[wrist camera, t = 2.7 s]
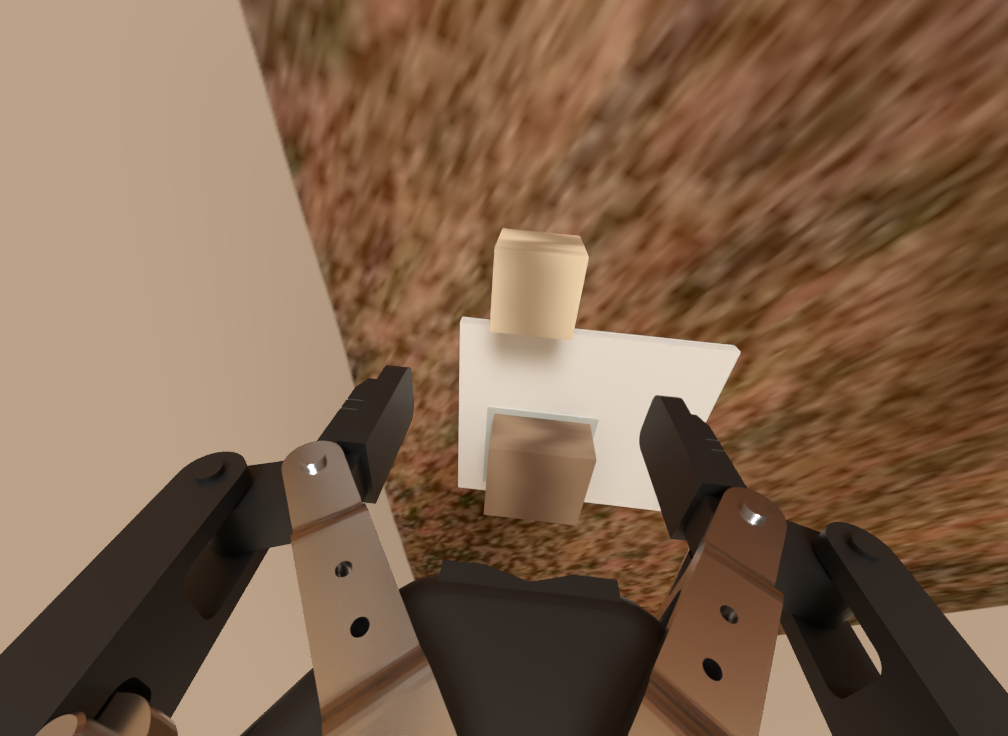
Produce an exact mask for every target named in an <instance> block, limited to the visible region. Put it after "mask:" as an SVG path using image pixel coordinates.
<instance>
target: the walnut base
mask: <svg viewBox="0 0 1008 736" xmlns="http://www.w3.org/2000/svg"><path fill="white" fill-rule="evenodd" d="M596 461H597V460H596V454H595V449H594V443H593V437H592V432H591V426H590V424H584V423H575V422H567V421H558V420H549V419H540V418H531V417H522V416H513V415H504V414H495V413H494V419H493V425H492V431H491V437H490V444H489V452H488V465H487V479H486V492H485V505H484V515H492V516H500V517H509V518H517V519H525V520H534V521H542V522H550V523H559V524H567V525H575V526H577V522H578V519H579V516H580V513H581V509H582V506H583V503H584V500H585V496H586V493H587V490H588V487H589V483H590V480H591V477H592V474H593V470H594V467H595V464H596Z"/></svg>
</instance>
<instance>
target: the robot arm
mask: <svg viewBox="0 0 1008 736" xmlns="http://www.w3.org/2000/svg"><path fill="white" fill-rule="evenodd" d="M413 410H414V400H413V385H412V372H411V369H410V368H409V367H400V366H390V365H387V366H385V368H384V369H383V371H382V372H381V374H380V375H379V377H378V378H377V379H370V378H369V379H367V380H365V381H364V382H362V383H361V384H359V385H358V386H356V387H355V389H354V390H353V391H352V393H351V394H350V396H349V397H348V400H346V401H345V403H344V404H343V405H342V408H341V409H340V410H339V411H338V412H337V414H336V415H335V417H334V418H333V419H332V421H331V422H330V423H329V425H328V426H327V428H326V429H325V430H324V432H323V433H322V435H321V436H320V437H319V439H318V440H317V441H314V442H310V443H307V444H304V445H302V446H300V447H298V448H296V449H295V450H293V451H292V452H291V453H290V454H289V455H288V456H287V457H286V458H285V460H284V461H279V462H273V463H266V464H258V465H250V466H247V464H246V461H245V459H244V458H243V457H242V456H241V455H239V454H238V453H234V452H218V453H213V454H210V455H206V456H204V457H201V458H199V459H197V460H195V461H193V462H191V463H190V464H188V465H187V466H186V467H184V468H183V469H182V470H181V471H180V472H179V473H178V474H177V475H176V476H175V477H174V478H173V479H172V480H171V481H170V482H169V483H168V484H167V485H166V486H165V487H164V488H163V489H162V490H161V491H160V492H159V493H158V494H157V495H156V496H155V497H154V498H153V499H152V500H151V501H150V502H149V503H148V504H147V506H145V508H143V510H142V511H141V512H140V513H139V514H138V515H137V516H136V517H135V518H134V519H133V520H132V521H131V522H130V523H129V524H128V525H127V526H126V527H125V528H124V529H123V530H122V531H121V532H120V533H119V534H118V535H117V536H116V537H115V538H114V539H113V540H112V541H111V542H110V543H109V544H108V545H107V546H106V547H105V548H104V549H103V550H102V551H101V552H100V553H99V554H98V555H97V556H96V557H95V559H94V560H93V561H92V562H91V563H90V564H89V565H88V566H87V567H86V568H85V569H84V570H83V571H82V572H81V573H80V574H79V575H78V576H77V577H76V578H75V579H74V580H73V581H72V582H71V583H70V584H69V585H68V586H67V587H66V588H65V589H64V590H63V591H62V592H61V593H60V595H58V596H57V597H56V598H55V599H54V600H53V601H52V602H51V604H49V605H48V607H47V608H46V609H45V610H44V611H43V612H42V613H41V614H40V615H39V616H38V617H37V618H36V619H35V620H34V621H33V622H32V623H31V624H30V625H29V626H28V627H27V628H26V629H25V630H24V631H23V632H22V633H21V634H20V635H19V636H18V637H17V638H16V639H15V640H14V641H13V642H12V644H10V645H9V646H8V647H7V648H6V649H5V650H4V651H3V653H2V654H0V736H178V732H177V728H176V725H175V723H174V721H173V720H171V717H172V715H173V713H174V711H175V710H176V708H177V706H178V705H179V703H180V701H181V699H182V698H183V696H184V694H185V693H186V691H187V689H188V687H189V686H190V684H191V682H192V680H193V679H194V677H195V675H196V673H197V672H198V670H199V668H200V667H201V665H202V663H203V661H204V660H205V658H206V656H207V655H208V653H209V651H210V649H211V648H212V646H213V644H214V643H215V641H216V639H217V637H218V636H219V634H220V632H221V630H222V629H223V627H224V625H225V623H226V622H227V620H228V618H229V617H230V615H231V613H232V612H233V610H234V608H235V606H236V604H237V603H238V601H239V599H240V597H241V596H242V594H243V593H244V591H245V589H246V587H247V586H248V584H249V582H250V580H251V579H252V577H253V575H254V574H255V572H256V570H257V568H258V567H259V565H260V563H261V561H262V560H263V558H264V556H265V555H266V553H267V551H268V549H269V548H270V547H276V546H281V545H286V544H291V545H292V550H293V556H294V562H295V567H296V573H297V579H298V584H299V590H300V595H301V602H302V607H303V613H304V618H305V624H306V630H307V635H308V641H309V647H310V652H311V658H312V664H313V668H312V669H311V670H310V671H309V672H308V673H307V674H306V675H304V676H303V677H302V678H301V679H300V680H299V681H298V682H297V683H296V684H295V685H294V686H293V687H292V688H291V689H289V690H288V691H287V692H286V693H285V694H284V695H283V696H282V697H281V698H280V699H279V700H278V701H277V702H275V704H274V705H272V706H271V707H270V708H269V709H268V710H267V711H266V712H265V713H264V714H263V715H262V716H261V717H259V718H258V719H257V720H256V721H255V722H254V723H253V724H252V725H251V726H250V727H249V728H248V729H247V730H246V731H244V732H243V733H242V734H241V735H240V736H758V735H759V730H760V725H761V719H762V714H763V709H764V703H765V698H766V692H767V687H768V682H769V676H770V671H771V666H772V660H773V655H774V650H775V644H776V639H777V633H778V628H779V623H780V622H781V624H782V626H783V629H784V631H785V633H786V635H787V637H788V639H789V642H790V644H791V646H792V648H793V650H794V652H795V655H796V657H797V659H798V661H799V663H800V665H801V668H802V670H803V672H804V674H805V677H806V679H807V681H808V683H809V685H810V688H811V690H812V692H813V694H814V696H815V698H816V701H817V703H818V705H819V707H820V709H821V712H822V714H823V716H824V718H825V720H826V723H827V725H828V727H829V729H830V731H831V733H832V736H1008V693H1007V692H1006V691H1005V689H1004V688H1003V687H1002V686H1001V684H1000V683H999V682H998V681H997V680H996V678H995V677H994V676H993V675H992V673H991V672H990V671H989V670H988V668H987V667H986V666H985V665H984V663H983V662H982V661H981V660H980V659H979V657H978V656H977V655H976V654H975V652H974V651H973V650H972V649H971V647H970V646H969V645H968V644H967V643H966V641H965V640H964V639H963V638H962V636H961V635H960V634H959V633H958V631H957V630H956V629H955V628H954V627H953V625H952V624H951V623H950V622H949V620H948V619H947V618H946V617H945V615H944V614H943V613H942V612H941V610H940V609H939V608H938V607H937V605H936V604H935V603H934V602H933V600H932V599H931V598H930V597H929V596H928V594H927V593H926V592H925V591H924V589H923V588H922V587H921V586H920V584H919V583H918V582H917V581H916V579H915V578H914V577H913V576H912V575H911V573H910V572H909V571H908V570H907V568H906V567H905V566H904V565H903V563H902V562H901V561H900V560H899V559H898V557H897V556H896V555H895V554H894V553H893V551H892V550H891V549H890V548H889V547H888V546H886V545H885V544H884V543H883V542H882V541H880V540H879V539H878V538H876V537H875V536H873V535H872V534H870V533H869V532H867V531H865V530H863V529H861V528H859V527H856V526H854V525H851V524H848V523H843V522H833V523H830V524H829V525H828V526H827V527H826V528H825V529H824V530H823V531H822V532H818V531H815V530H812V529H810V528H807V527H804V526H801V525H798V524H796V523H793V522H790V521H788V520H786V519H785V517H784V515H783V513H782V512H781V511H780V509H779V508H778V507H777V506H776V505H775V504H774V503H773V502H771V501H770V500H769V499H767V498H766V497H764V496H763V495H761V494H759V493H757V492H755V491H753V490H750V489H747V487H746V485H745V484H744V482H743V480H742V479H741V477H740V476H739V474H738V472H737V471H736V469H735V467H734V466H733V464H732V462H731V461H730V459H729V457H728V456H727V454H726V453H725V452H723V450H724V449H723V448H722V446H721V444H720V443H719V442H718V441H717V438H716V436H715V434H714V433H713V431H712V430H711V428H710V426H708V425H707V424H706V423H705V422H704V421H703V420H702V419H701V418H699V417H698V416H697V415H693V414H691V413H690V411H689V409H688V408H687V406H686V404H685V402H684V401H683V399H682V398H679V397H669V396H660V395H656V396H655V397H654V398H653V400H652V402H651V405H650V407H649V410H648V412H647V415H646V418H645V420H644V423H643V425H642V428H641V431H640V436H639V445H640V450H641V453H642V456H643V459H644V462H645V465H646V468H647V471H648V473H649V476H650V479H651V482H652V485H653V488H654V491H655V494H656V497H657V500H658V503H659V506H660V509H661V512H662V515H663V518H664V520H665V523H666V526H667V529H668V532H669V535H670V538H671V539H678V540H686V541H687V543H688V545H689V550H688V551H687V553H686V554H685V557H684V559H683V561H682V563H681V565H680V567H679V569H678V572H677V574H676V576H675V578H674V580H673V582H672V585H671V587H670V589H669V591H668V593H667V595H666V597H665V600H664V602H663V604H662V606H661V608H660V610H659V611H658V613H657V615H656V617H654V616H653V615H651V614H650V613H649V612H648V611H647V610H645V609H644V608H642V607H641V606H639V605H638V604H636V603H634V602H633V601H631V600H629V599H627V598H625V597H623V596H620V593H619V587H618V582H617V580H612V579H604V578H595V577H587V576H578V575H571V576H565V577H559V578H552V579H546V580H540V581H533V582H530V581H526V580H523V579H520V578H518V577H515V576H513V575H510V574H508V573H505V572H503V571H500V570H498V569H495V568H493V567H490V566H488V565H484V564H475V563H467V562H458V561H450V560H443V562H442V566H441V571H440V573H439V574H433V575H429V576H426V577H423V578H420V579H418V580H415V581H413V582H411V583H409V584H407V585H406V586H404V587H402V588H400V589H399V590H398V587H397V584H396V582H395V579H394V577H393V574H392V571H391V569H390V566H389V563H388V561H387V558H386V556H385V553H384V550H383V548H382V546H381V543H380V540H379V537H378V535H377V532H376V529H375V527H374V524H373V521H372V519H371V516H370V514H369V511H368V509H367V507H366V505H365V503H364V504H363V502H366V503H376V502H377V499H378V497H379V495H380V492H381V490H382V488H383V486H384V483H385V481H386V479H387V476H388V474H389V472H390V469H391V467H392V465H393V463H394V460H395V458H396V456H397V453H398V451H399V449H400V446H401V444H402V442H403V440H404V437H405V435H406V433H407V430H408V428H409V426H410V423H411V421H412V417H413ZM854 615H855V617H856V619H857V620H858V622H859V623H860V625H861V627H862V628H863V630H864V631H865V633H866V635H867V636H868V638H869V640H870V641H871V643H872V644H873V646H874V648H875V649H876V651H877V653H878V655H879V658H880V661H881V665H882V672H881V676H880V674H879V672H878V671H877V669H876V667H875V666H874V664H873V662H872V661H871V659H870V657H869V656H868V654H867V652H866V651H865V649H864V647H863V646H862V644H861V642H860V640H859V639H858V637H857V635H856V634H855V632H854V630H853V629H852V627H851V625H850V624H849V622H848V620H849V619H850V618H851V617H853V616H854Z"/></svg>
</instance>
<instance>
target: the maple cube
mask: <svg viewBox="0 0 1008 736" xmlns="http://www.w3.org/2000/svg"><path fill="white" fill-rule="evenodd" d="M588 259H589V257H588V254H587V252H586V249H585V247H584V245H583V242H582V240H581V237H580V236H576V235H566V234H555V233H545V232H535V231H525V230H515V229H505V228H502V231H501V233H500V236H499V238H498V241H497V243H496V246H495V251H494V267H493V283H492V299H491V315H490V331H489V332H497V333H506V334H515V335H525V336H534V337H543V338H553V339H562V340H571V341H572V337H573V333H574V328H575V323H576V318H577V313H578V308H579V303H580V298H581V293H582V288H583V283H584V278H585V274H586V269H587V264H588Z"/></svg>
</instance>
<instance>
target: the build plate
mask: <svg viewBox="0 0 1008 736" xmlns="http://www.w3.org/2000/svg"><path fill="white" fill-rule="evenodd" d="M489 331H490V319H480V318H471V317H462V319H461V321H460V369H459V452H458V487H462V488H470V489H478V490H486V479H487V465H488V452H489V444H490V437H491V431H492V425H493V419H494V413H495V414H504V415H513V416H522V417H531V418H540V419H549V420H558V421H567V422H575V423H584V424H590V426H591V432H592V437H593V443H594V449H595V454H596V460H597V461H596V464H595V467H594V470H593V474H592V477H591V480H590V483H589V487H588V490H587V493H586V496H585V500H584V502H588V503H597V504H605V505H614V506H622V507H631V508H639V509H648V510H656V511H661V509H660V506H659V503H658V500H657V497H656V494H655V491H654V488H653V485H652V482H651V479H650V476H649V473H648V471H647V468H646V465H645V462H644V459H643V456H642V453H641V450H640V445H639V436H640V431H641V428H642V425H643V423H644V420H645V418H646V415H647V412H648V410H649V407H650V405H651V402H652V400H653V398H654V397H655V396H656V395H660V396H669V397H679V398H682V399H683V401H684V402H685V404H686V406H687V408H688V409H689V411H690V413H691V414H693V415H697V416H698V417H699V418H701V419H702V420H703V421H704V422H705V423H706V421H707V419H708V417H709V415H710V413H711V411H712V409H713V407H714V405H715V403H716V401H717V399H718V397H719V395H720V393H721V391H722V389H723V387H724V385H725V383H726V381H727V379H728V377H729V375H730V373H731V371H732V369H733V367H734V365H735V363H736V361H737V359H738V357H739V355H740V353H741V352H740V351H739V350H738V349H737V348H736V346H735V345H727V344H717V343H708V342H698V341H689V340H680V339H670V338H661V337H651V336H642V335H632V334H623V333H613V332H604V331H594V330H585V329H575V328H574V333H573V337H572V341H571V340H562V339H553V338H543V337H534V336H525V335H515V334H506V333H497V332H489Z"/></svg>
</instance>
